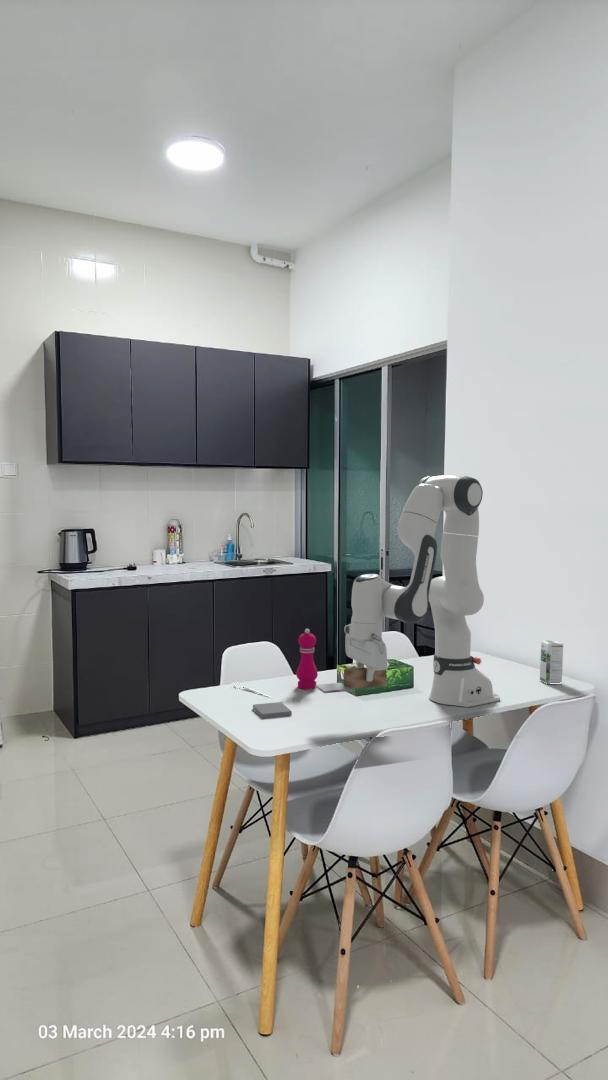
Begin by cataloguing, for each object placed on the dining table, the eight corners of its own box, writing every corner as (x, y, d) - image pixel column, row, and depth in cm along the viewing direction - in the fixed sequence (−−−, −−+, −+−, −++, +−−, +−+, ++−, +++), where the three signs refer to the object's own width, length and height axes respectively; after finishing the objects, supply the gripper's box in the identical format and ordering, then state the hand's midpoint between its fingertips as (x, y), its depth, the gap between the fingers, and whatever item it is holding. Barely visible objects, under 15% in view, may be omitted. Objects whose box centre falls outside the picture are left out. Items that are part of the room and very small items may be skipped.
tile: (281, 702, 226) (252, 704, 223) (291, 711, 216) (262, 714, 213) (280, 707, 226) (252, 710, 223) (291, 717, 216) (262, 719, 213)
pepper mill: (317, 689, 245) (318, 630, 243) (296, 689, 245) (296, 630, 243) (317, 684, 252) (317, 626, 251) (296, 684, 252) (296, 626, 251)
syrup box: (538, 681, 258) (540, 640, 257) (554, 680, 259) (555, 639, 258) (546, 685, 252) (547, 643, 251) (562, 684, 253) (563, 643, 252)
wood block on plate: (377, 681, 215) (378, 664, 215) (389, 687, 209) (389, 670, 209) (314, 686, 208) (315, 669, 208) (324, 693, 202) (324, 675, 201)
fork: (268, 701, 234) (268, 695, 233) (230, 687, 248) (230, 682, 248) (276, 699, 236) (276, 693, 236) (238, 685, 250) (238, 680, 250)
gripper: (393, 637, 201) (392, 687, 201) (361, 624, 220) (360, 670, 220) (372, 638, 198) (371, 688, 199) (341, 625, 217) (340, 671, 218)
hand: (365, 678), depth 210 cm, fingers closed on wood block on plate, 3 cm apart
